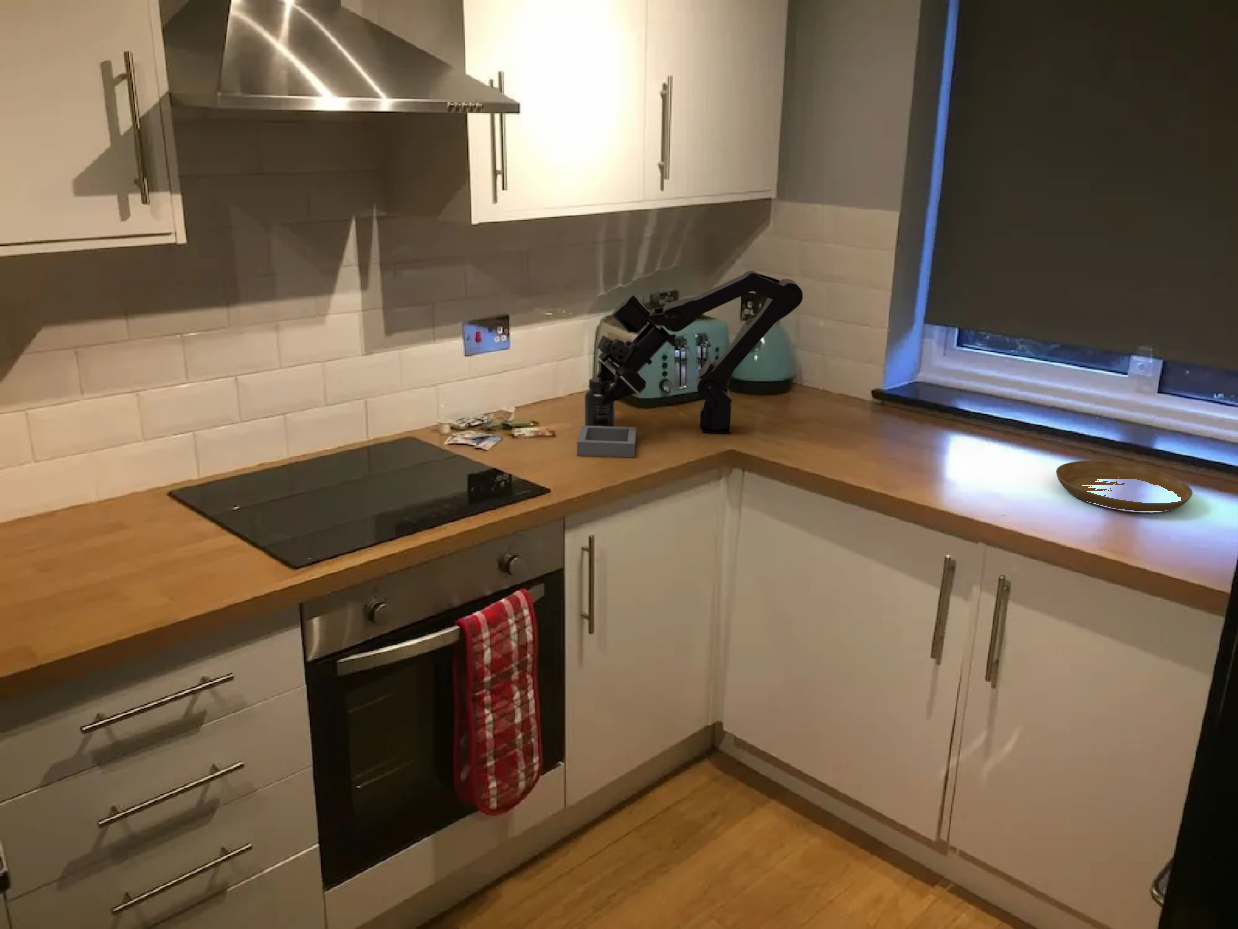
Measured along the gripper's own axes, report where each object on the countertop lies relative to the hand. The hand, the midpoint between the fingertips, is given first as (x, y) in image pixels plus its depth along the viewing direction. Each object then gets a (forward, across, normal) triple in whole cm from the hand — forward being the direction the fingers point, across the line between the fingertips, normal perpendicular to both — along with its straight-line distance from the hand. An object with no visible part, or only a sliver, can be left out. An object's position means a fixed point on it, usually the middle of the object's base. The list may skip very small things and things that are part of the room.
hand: (595, 398), depth 234 cm
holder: (+6, +12, +5) cm, 14 cm away
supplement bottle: (+5, 0, +6) cm, 8 cm away
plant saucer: (-56, +64, +68) cm, 109 cm away
